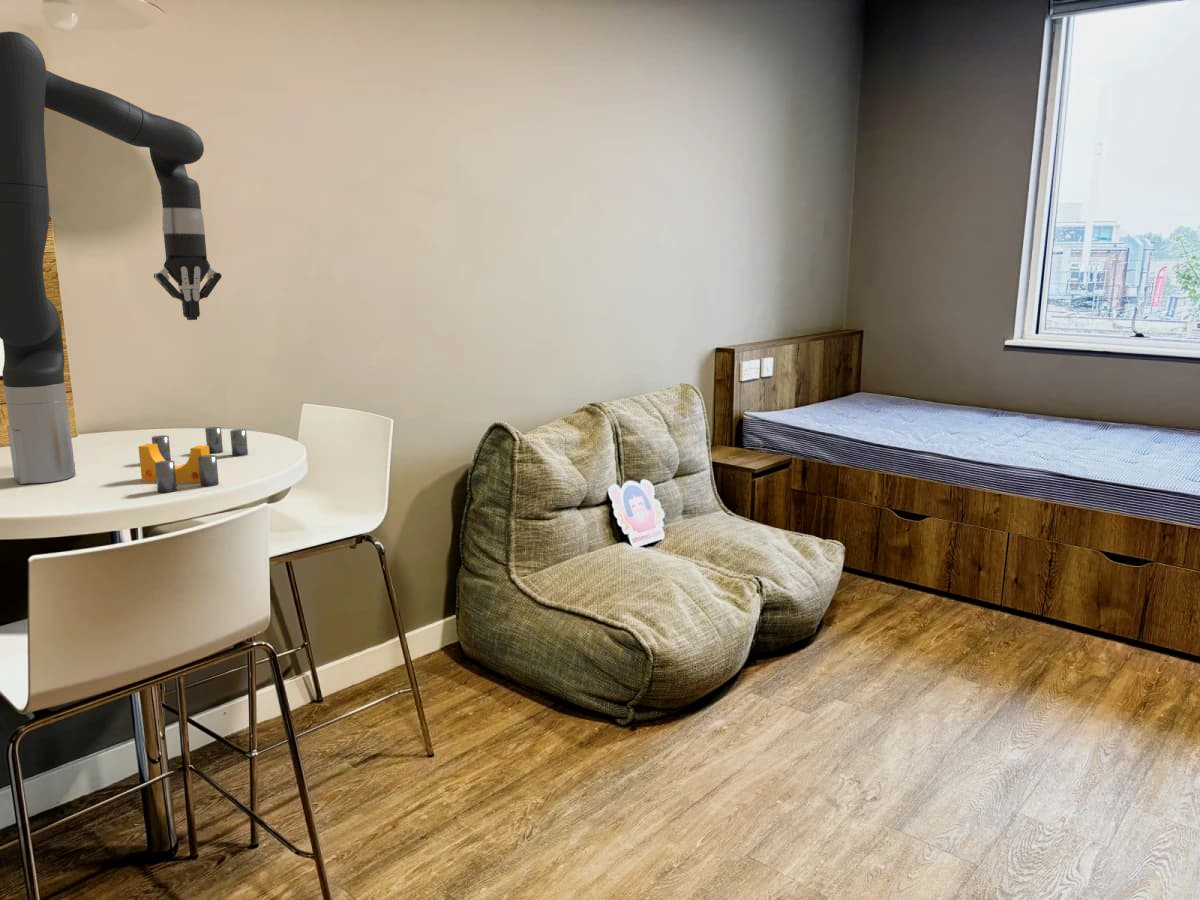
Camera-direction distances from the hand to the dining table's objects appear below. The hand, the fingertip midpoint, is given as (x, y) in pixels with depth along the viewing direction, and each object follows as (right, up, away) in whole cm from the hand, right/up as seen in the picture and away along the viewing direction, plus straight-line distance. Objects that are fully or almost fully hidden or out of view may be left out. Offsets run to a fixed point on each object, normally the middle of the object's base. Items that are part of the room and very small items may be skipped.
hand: (192, 319), depth 183 cm
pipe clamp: (+7, -32, -20) cm, 38 cm away
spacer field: (+7, -30, -12) cm, 33 cm away
